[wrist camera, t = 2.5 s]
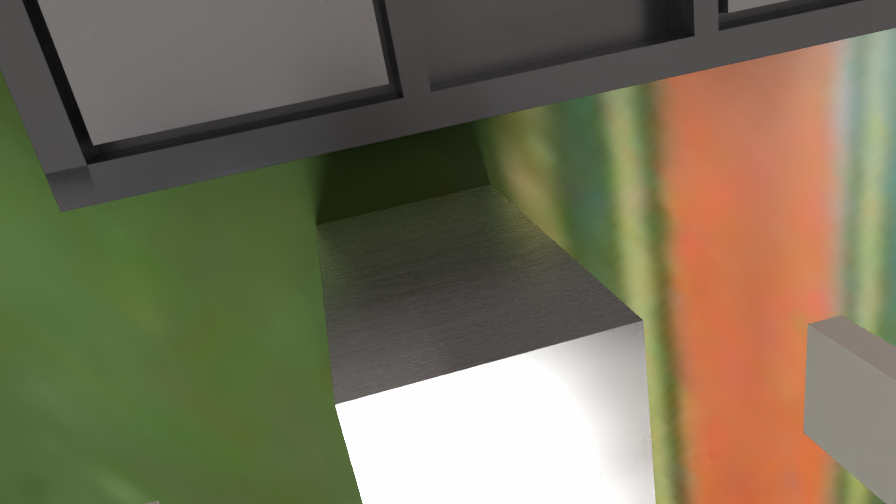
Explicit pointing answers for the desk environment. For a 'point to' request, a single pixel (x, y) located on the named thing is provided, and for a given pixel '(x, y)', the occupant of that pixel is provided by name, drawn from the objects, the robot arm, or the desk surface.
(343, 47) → the frame
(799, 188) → the desk surface
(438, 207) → the grey metallic block
